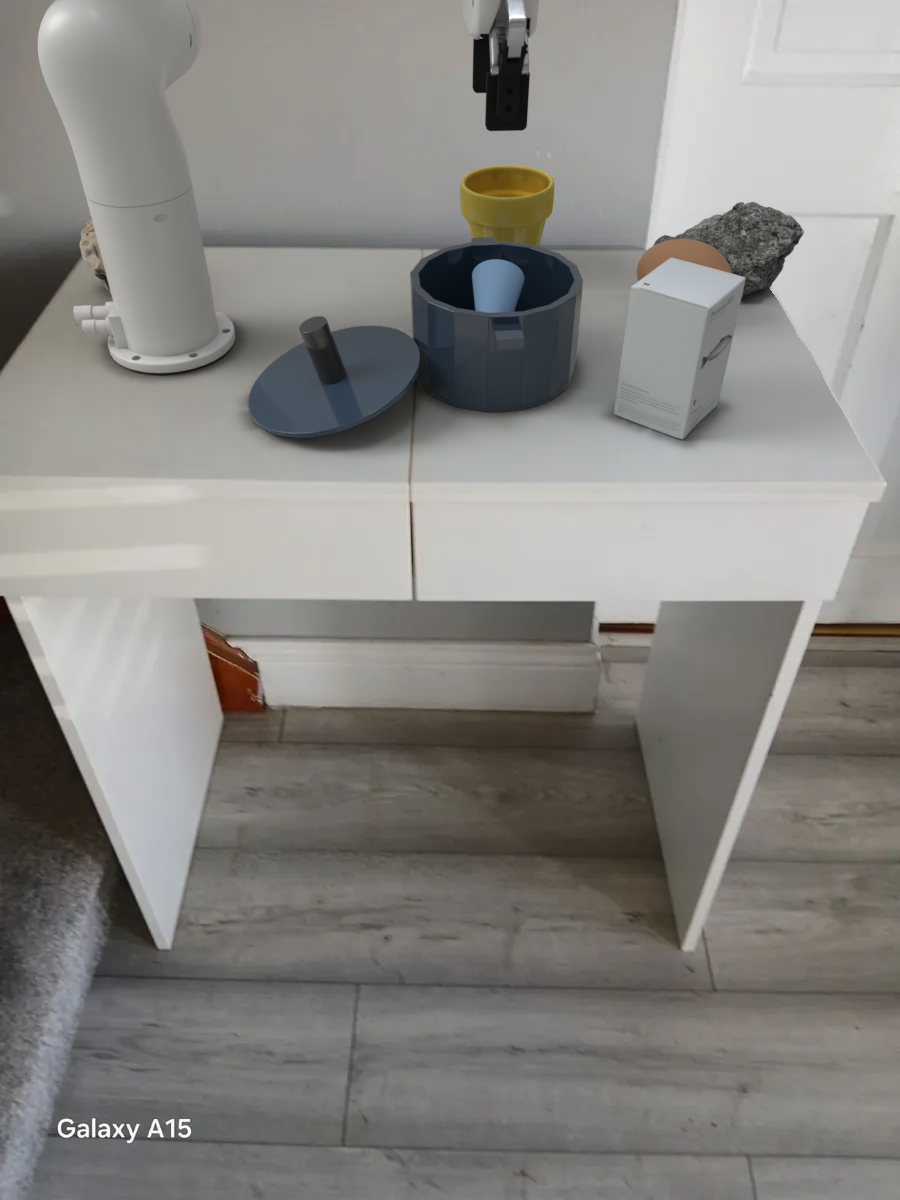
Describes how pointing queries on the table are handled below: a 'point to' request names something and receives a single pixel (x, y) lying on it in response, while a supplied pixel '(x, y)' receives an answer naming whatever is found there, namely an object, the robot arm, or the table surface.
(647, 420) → the white packaging box
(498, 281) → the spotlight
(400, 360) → the pot lid
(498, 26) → the robot arm
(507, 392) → the pot
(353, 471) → the table surface
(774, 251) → the rock
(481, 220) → the flower pot
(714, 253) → the egg
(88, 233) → the rock
